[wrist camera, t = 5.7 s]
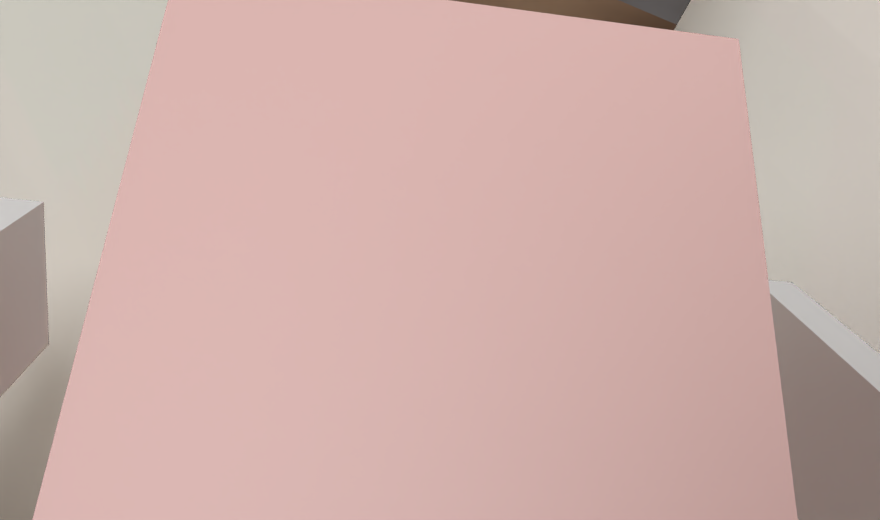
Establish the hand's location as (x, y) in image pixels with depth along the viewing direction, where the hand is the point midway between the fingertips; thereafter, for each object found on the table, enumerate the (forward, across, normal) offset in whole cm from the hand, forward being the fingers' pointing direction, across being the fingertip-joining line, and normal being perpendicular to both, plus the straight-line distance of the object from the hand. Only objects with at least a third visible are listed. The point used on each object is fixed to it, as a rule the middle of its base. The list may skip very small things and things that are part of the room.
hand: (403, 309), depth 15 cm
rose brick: (+2, 0, -5) cm, 5 cm away
